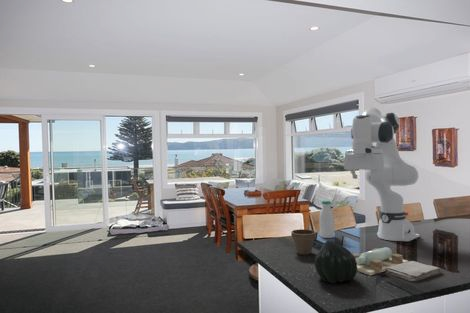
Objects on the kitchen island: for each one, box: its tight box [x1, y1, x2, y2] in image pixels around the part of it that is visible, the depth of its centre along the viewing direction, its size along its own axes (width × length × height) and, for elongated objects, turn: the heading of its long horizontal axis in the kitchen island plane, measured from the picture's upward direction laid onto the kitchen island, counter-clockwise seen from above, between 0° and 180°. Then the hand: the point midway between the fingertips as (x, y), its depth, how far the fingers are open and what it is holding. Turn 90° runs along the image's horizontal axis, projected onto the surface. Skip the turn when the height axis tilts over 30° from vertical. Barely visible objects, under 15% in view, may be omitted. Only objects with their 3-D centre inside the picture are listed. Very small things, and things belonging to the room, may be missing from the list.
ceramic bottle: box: [356, 246, 394, 265], centre depth 142 cm, size 18×5×5 cm, turn 120°
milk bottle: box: [319, 199, 335, 239], centre depth 191 cm, size 8×8×20 cm
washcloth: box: [385, 260, 441, 282], centre depth 133 cm, size 12×18×3 cm, turn 120°
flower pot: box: [290, 228, 317, 256], centre depth 163 cm, size 12×11×10 cm
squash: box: [314, 240, 358, 284], centre depth 129 cm, size 14×15×15 cm
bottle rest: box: [352, 247, 409, 276], centre depth 143 cm, size 24×13×4 cm, turn 120°
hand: (363, 179), depth 161 cm, fingers open, 8 cm apart
